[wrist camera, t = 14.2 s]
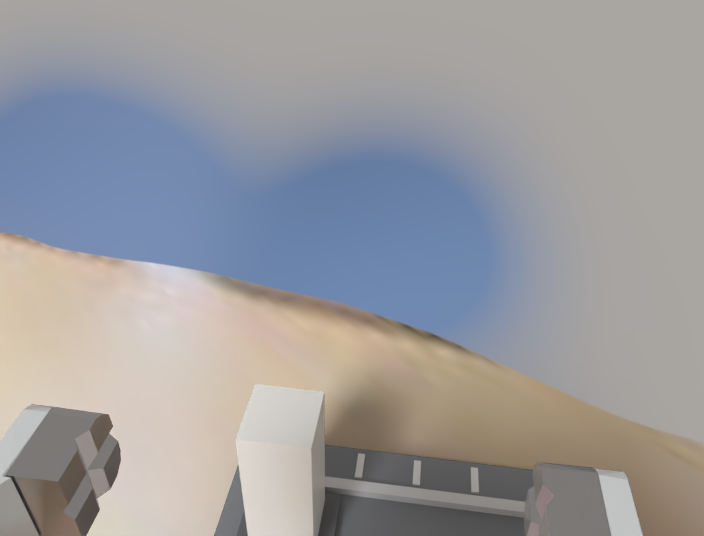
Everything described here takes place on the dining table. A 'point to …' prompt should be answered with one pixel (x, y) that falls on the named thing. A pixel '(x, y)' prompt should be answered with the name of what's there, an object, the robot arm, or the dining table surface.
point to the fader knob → (284, 465)
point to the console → (411, 496)
